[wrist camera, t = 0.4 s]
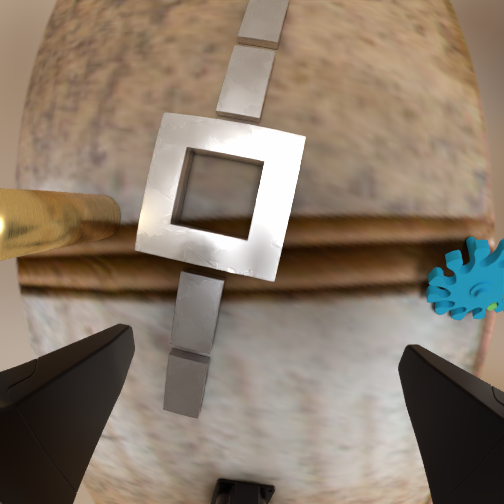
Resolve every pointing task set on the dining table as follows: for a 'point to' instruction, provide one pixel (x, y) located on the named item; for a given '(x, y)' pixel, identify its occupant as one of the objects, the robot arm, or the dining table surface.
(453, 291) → the gear
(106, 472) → the dining table surface
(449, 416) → the robot arm
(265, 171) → the square frame with tiles
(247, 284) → the dining table surface
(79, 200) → the pin
